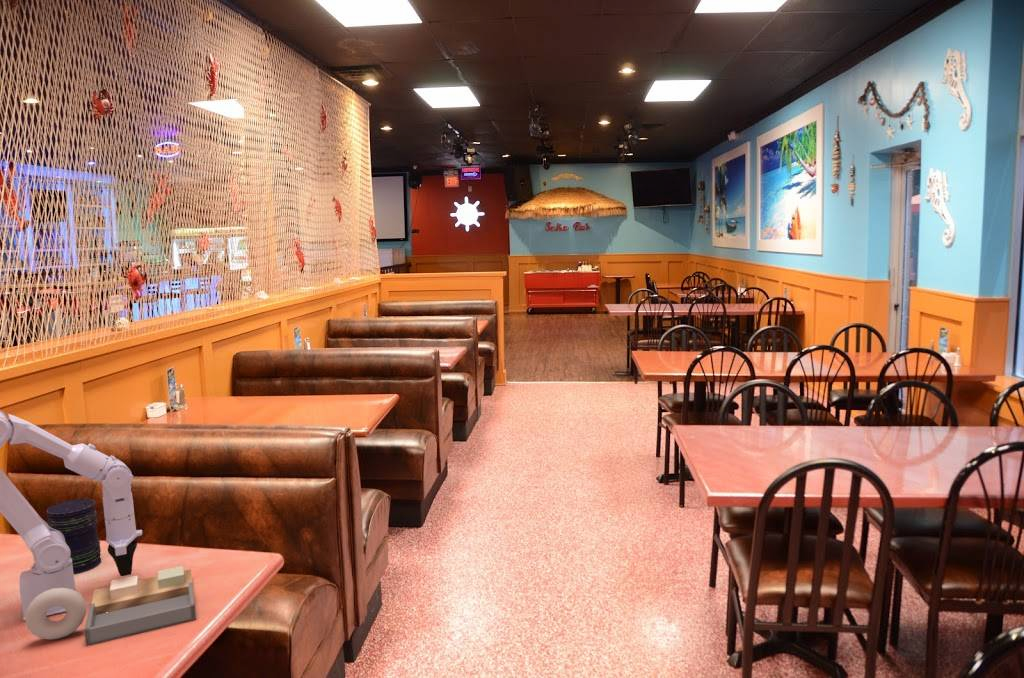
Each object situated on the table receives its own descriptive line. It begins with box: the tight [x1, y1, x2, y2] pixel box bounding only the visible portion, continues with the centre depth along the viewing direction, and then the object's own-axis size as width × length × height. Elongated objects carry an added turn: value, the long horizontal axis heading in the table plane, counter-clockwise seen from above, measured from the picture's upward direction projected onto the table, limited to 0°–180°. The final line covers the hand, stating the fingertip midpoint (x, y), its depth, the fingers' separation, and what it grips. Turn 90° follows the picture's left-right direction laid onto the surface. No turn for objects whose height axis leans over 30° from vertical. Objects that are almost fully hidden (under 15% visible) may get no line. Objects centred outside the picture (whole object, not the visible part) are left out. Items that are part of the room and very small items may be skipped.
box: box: [84, 581, 197, 646], centre depth 143 cm, size 19×12×3 cm, turn 116°
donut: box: [24, 588, 87, 641], centre depth 137 cm, size 10×4×10 cm, turn 117°
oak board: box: [91, 569, 193, 615], centre depth 153 cm, size 19×9×2 cm, turn 116°
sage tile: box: [157, 565, 185, 589], centre depth 155 cm, size 5×5×2 cm
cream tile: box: [110, 575, 139, 599], centre depth 151 cm, size 5×5×2 cm
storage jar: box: [46, 498, 102, 575], centre depth 168 cm, size 10×10×15 cm
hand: (125, 574), depth 158 cm, fingers closed
